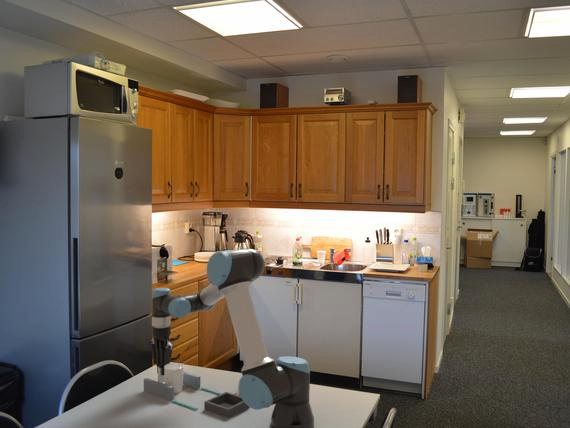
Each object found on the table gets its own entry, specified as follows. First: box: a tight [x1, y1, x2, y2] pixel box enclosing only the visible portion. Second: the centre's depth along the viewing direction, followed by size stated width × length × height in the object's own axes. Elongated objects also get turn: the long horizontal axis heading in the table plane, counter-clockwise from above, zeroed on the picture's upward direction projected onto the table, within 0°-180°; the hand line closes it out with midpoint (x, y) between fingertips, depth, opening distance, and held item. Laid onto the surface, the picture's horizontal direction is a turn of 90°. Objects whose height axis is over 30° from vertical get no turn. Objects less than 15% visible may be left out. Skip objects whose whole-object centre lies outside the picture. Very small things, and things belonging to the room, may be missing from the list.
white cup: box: [164, 362, 185, 394], centre depth 214 cm, size 8×8×10 cm
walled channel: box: [143, 371, 201, 402], centre depth 215 cm, size 16×16×5 cm
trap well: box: [203, 391, 250, 419], centre depth 198 cm, size 12×12×3 cm
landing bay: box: [171, 386, 222, 411], centre depth 206 cm, size 13×17×1 cm
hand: (161, 381), depth 219 cm, fingers closed
